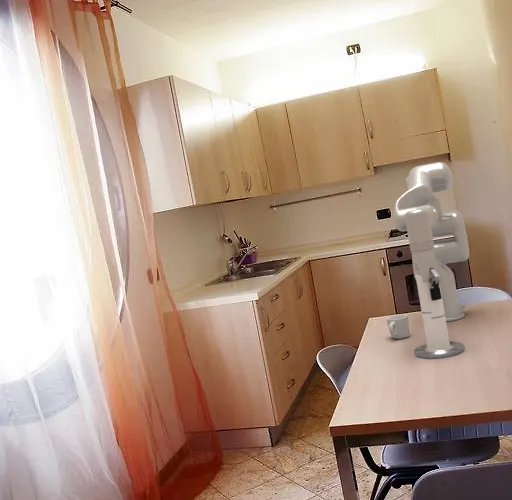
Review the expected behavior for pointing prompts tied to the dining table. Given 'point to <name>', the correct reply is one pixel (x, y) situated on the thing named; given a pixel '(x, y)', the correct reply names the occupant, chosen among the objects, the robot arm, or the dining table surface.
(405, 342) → the dining table surface
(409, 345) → the dining table surface
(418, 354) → the flange plate
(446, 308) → the robot arm
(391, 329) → the cup
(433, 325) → the cylindrical container
